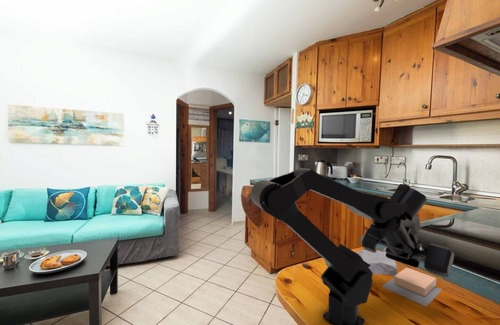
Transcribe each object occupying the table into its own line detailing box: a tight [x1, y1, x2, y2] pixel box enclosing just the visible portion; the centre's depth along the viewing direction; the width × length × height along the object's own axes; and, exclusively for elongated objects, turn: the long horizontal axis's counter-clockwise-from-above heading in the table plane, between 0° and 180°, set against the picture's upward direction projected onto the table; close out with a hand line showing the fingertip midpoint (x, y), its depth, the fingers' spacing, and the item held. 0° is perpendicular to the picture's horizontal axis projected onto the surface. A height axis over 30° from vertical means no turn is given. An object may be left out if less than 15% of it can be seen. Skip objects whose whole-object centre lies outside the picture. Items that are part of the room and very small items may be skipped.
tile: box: [393, 267, 437, 296], centre depth 61 cm, size 2×7×8 cm
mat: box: [381, 277, 443, 307], centre depth 60 cm, size 11×10×1 cm
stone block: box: [356, 249, 398, 277], centre depth 72 cm, size 12×5×10 cm
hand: (411, 264), depth 59 cm, fingers closed
